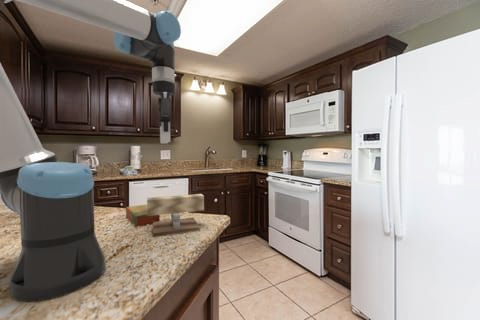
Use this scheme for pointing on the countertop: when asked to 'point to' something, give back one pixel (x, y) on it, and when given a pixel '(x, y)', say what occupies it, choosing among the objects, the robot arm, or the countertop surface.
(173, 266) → the countertop surface
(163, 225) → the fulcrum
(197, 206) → the beam
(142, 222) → the carton
